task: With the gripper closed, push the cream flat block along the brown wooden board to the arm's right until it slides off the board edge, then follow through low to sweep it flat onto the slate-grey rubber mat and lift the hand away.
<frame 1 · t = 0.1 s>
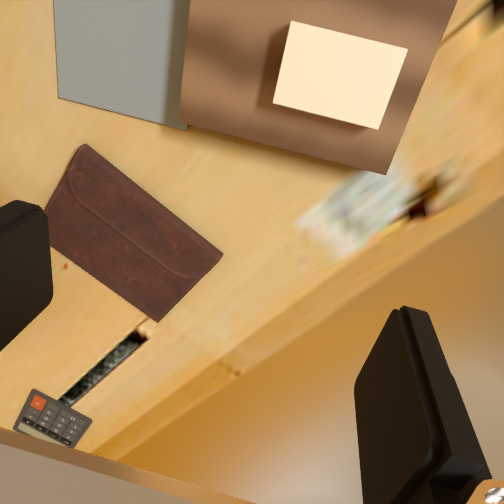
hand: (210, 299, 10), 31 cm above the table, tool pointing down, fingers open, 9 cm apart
brown wooden board: (303, 64, 35), on the table
mat: (126, 32, 36), on the table
calculator: (53, 421, 71), on the table
notebook: (129, 238, 48), on the table
cream flat block: (335, 75, 32), point 3 cm above the table, touching brown wooden board
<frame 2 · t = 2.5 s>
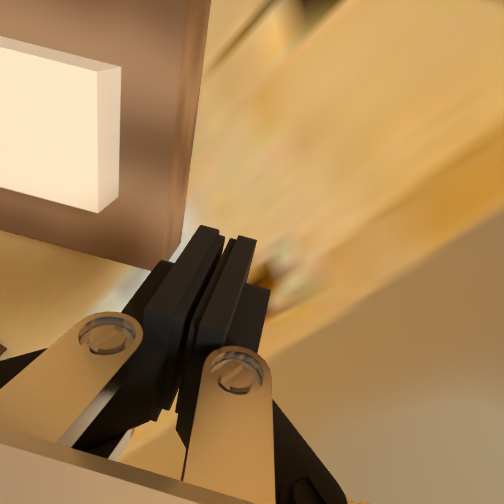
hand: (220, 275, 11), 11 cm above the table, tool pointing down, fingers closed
brown wooden board: (17, 87, 21), on the table
cream flat block: (26, 113, 18), point 3 cm above the table, touching brown wooden board
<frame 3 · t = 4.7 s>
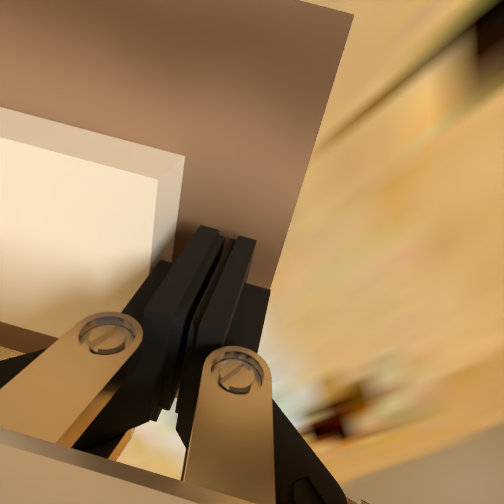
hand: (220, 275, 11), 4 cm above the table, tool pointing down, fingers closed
brown wooden board: (41, 159, 15), on the table
cream flat block: (36, 211, 12), point 4 cm above the table
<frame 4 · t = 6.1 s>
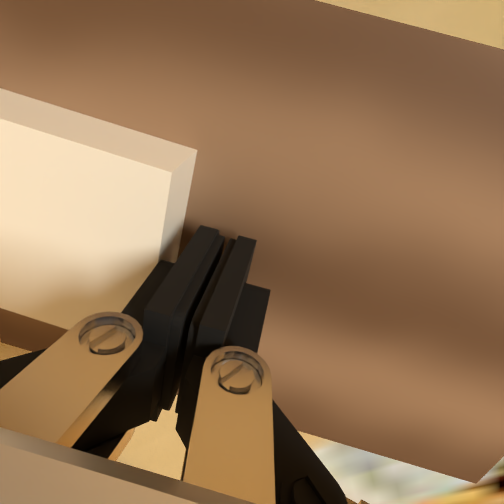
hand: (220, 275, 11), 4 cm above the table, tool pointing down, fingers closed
brown wooden board: (287, 224, 15), on the table
cream flat block: (43, 198, 12), point 4 cm above the table, touching gripper
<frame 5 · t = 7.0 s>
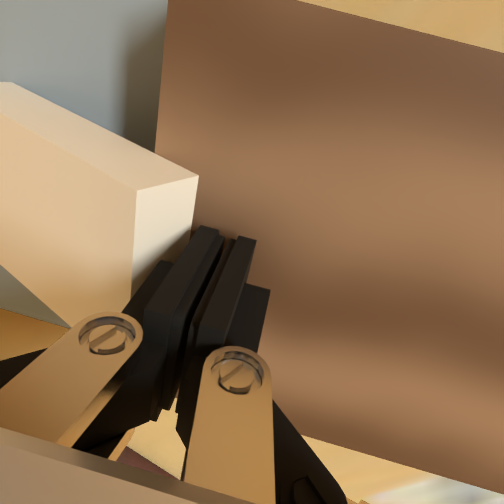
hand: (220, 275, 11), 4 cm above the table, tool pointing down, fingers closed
brown wooden board: (432, 267, 15), on the table
mat: (17, 175, 16), on the table
notebook: (70, 468, 28), on the table
cream flat block: (90, 208, 13), point 2 cm above the table, tilted 26°, touching gripper
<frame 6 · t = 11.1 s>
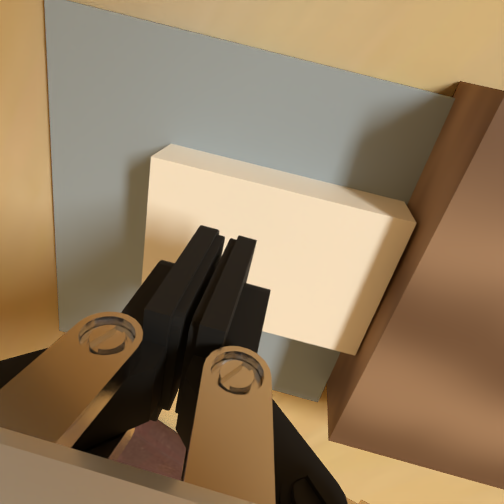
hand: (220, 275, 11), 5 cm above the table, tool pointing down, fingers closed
mat: (211, 239, 16), on the table
cream flat block: (268, 241, 16), resting on mat
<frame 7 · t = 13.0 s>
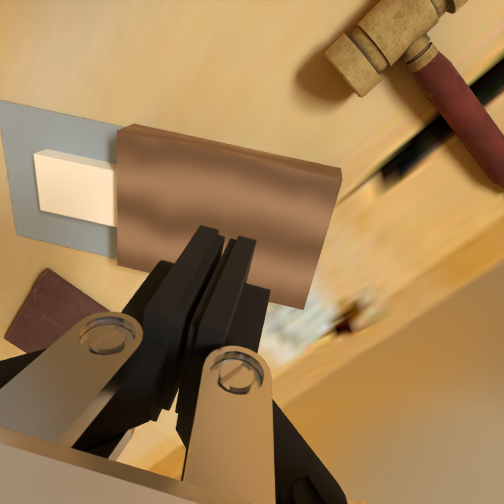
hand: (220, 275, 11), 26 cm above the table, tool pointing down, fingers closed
brown wooden board: (225, 213, 39), on the table
mat: (70, 186, 41), on the table
notebook: (93, 342, 52), on the table
cream flat block: (89, 185, 40), resting on mat
gavel: (451, 104, 32), on the table
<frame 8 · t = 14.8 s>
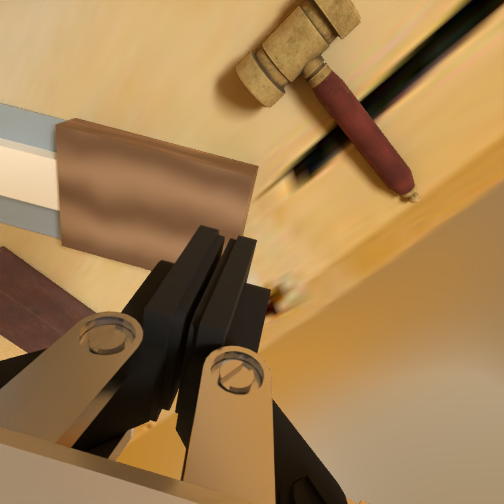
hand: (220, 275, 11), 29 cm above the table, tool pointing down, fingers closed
brown wooden board: (160, 202, 43), on the table
mat: (20, 172, 44), on the table
notebook: (48, 317, 56), on the table
cream flat block: (37, 172, 44), resting on mat
gavel: (352, 116, 36), on the table
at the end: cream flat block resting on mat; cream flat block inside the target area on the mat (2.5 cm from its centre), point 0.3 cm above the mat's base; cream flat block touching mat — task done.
